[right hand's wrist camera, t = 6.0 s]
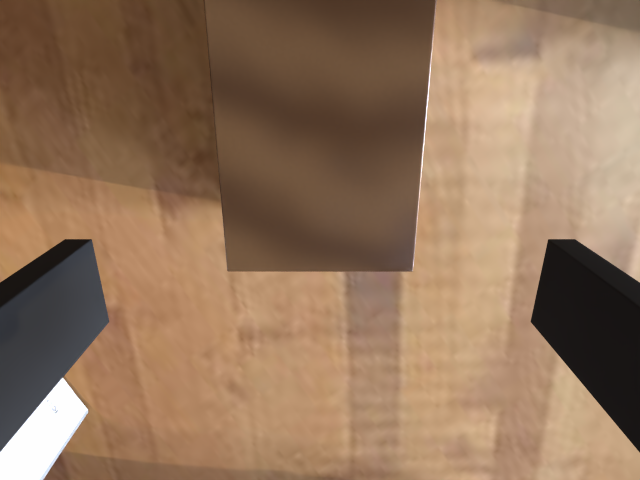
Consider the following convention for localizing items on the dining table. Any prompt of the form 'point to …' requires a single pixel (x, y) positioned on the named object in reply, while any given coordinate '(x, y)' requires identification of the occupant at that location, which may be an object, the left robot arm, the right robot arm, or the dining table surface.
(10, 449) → the hard drive box
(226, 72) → the cabinet
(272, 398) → the dining table surface
